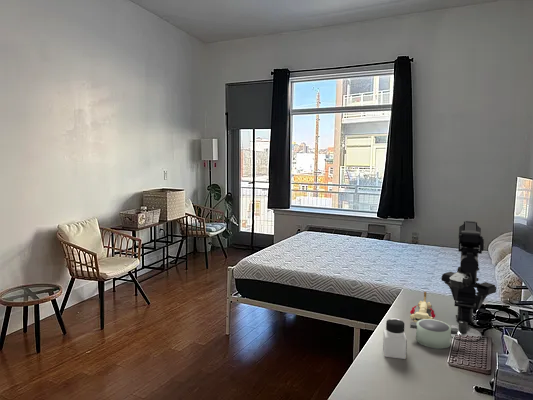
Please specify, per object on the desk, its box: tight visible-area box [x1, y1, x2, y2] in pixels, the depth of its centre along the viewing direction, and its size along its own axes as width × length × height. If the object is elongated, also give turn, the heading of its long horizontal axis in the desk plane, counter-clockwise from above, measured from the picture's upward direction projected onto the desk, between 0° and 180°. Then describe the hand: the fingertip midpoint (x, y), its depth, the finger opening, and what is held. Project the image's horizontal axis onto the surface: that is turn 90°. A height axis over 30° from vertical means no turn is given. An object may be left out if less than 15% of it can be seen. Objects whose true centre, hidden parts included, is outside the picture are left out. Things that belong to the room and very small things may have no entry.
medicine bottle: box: [382, 317, 408, 360], centre depth 139 cm, size 7×7×12 cm
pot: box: [409, 318, 458, 350], centre depth 148 cm, size 12×16×6 cm
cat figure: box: [409, 291, 436, 323], centre depth 171 cm, size 10×9×25 cm
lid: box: [450, 321, 482, 339], centre depth 155 cm, size 13×13×5 cm
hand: (466, 304), depth 151 cm, fingers open, 9 cm apart
